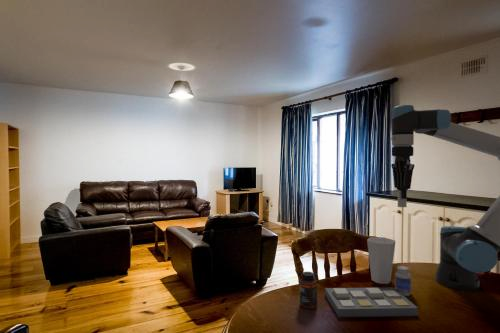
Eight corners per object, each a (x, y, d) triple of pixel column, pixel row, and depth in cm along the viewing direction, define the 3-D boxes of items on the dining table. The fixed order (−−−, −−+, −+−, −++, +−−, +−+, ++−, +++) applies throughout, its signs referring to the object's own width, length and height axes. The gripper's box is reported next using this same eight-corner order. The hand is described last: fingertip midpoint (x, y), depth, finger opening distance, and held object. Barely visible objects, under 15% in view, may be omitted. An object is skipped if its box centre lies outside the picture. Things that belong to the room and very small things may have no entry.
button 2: (377, 294, 112) (377, 287, 112) (383, 299, 107) (383, 292, 107) (365, 294, 112) (365, 287, 112) (370, 299, 107) (370, 293, 107)
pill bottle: (412, 296, 114) (413, 270, 113) (397, 295, 115) (397, 269, 114) (408, 290, 119) (408, 265, 119) (393, 289, 120) (393, 264, 120)
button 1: (393, 296, 112) (394, 290, 112) (400, 302, 107) (400, 295, 107) (382, 297, 112) (382, 290, 112) (387, 302, 107) (387, 295, 107)
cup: (371, 274, 136) (372, 235, 136) (396, 279, 130) (397, 239, 130) (364, 282, 127) (364, 241, 127) (391, 288, 121) (391, 245, 121)
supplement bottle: (318, 303, 109) (318, 271, 109) (316, 310, 103) (316, 277, 103) (301, 300, 111) (301, 269, 111) (298, 308, 105) (298, 275, 105)
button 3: (361, 297, 112) (361, 290, 112) (366, 302, 107) (366, 296, 107) (349, 297, 112) (349, 290, 112) (353, 303, 107) (353, 296, 107)
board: (393, 294, 116) (393, 286, 116) (417, 315, 100) (417, 307, 100) (325, 295, 115) (325, 287, 115) (338, 316, 99) (338, 308, 99)
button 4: (344, 294, 112) (344, 288, 111) (349, 300, 107) (349, 293, 107) (332, 294, 111) (332, 288, 111) (336, 300, 107) (336, 293, 107)
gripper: (385, 146, 125) (384, 204, 126) (401, 145, 112) (401, 209, 113) (403, 146, 125) (402, 204, 126) (421, 145, 112) (421, 209, 113)
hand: (402, 206), depth 119 cm, fingers closed
